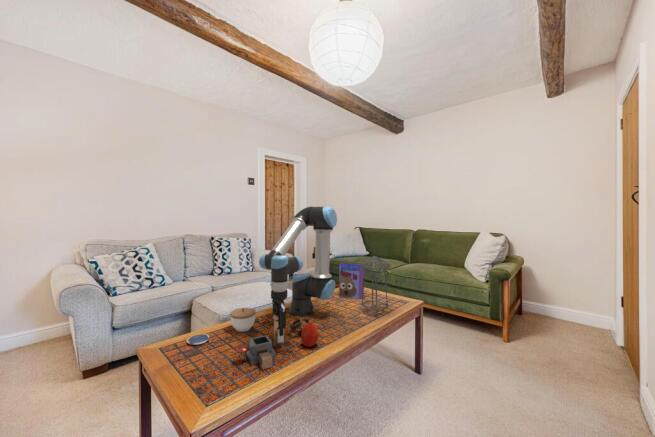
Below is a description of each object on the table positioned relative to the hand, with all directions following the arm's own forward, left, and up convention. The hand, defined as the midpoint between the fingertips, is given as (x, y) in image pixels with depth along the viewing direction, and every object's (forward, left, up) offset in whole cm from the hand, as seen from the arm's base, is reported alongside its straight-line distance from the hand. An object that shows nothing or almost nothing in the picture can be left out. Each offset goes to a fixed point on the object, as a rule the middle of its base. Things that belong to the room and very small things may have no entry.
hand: (278, 339), depth 129 cm
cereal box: (-44, +69, -3) cm, 82 cm away
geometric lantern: (-14, +66, -3) cm, 68 cm away
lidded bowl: (-25, -11, -3) cm, 27 cm away
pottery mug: (-7, +14, -3) cm, 16 cm away
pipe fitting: (0, 0, -3) cm, 3 cm away
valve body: (+6, -13, -3) cm, 14 cm away
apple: (+6, +13, -3) cm, 15 cm away
